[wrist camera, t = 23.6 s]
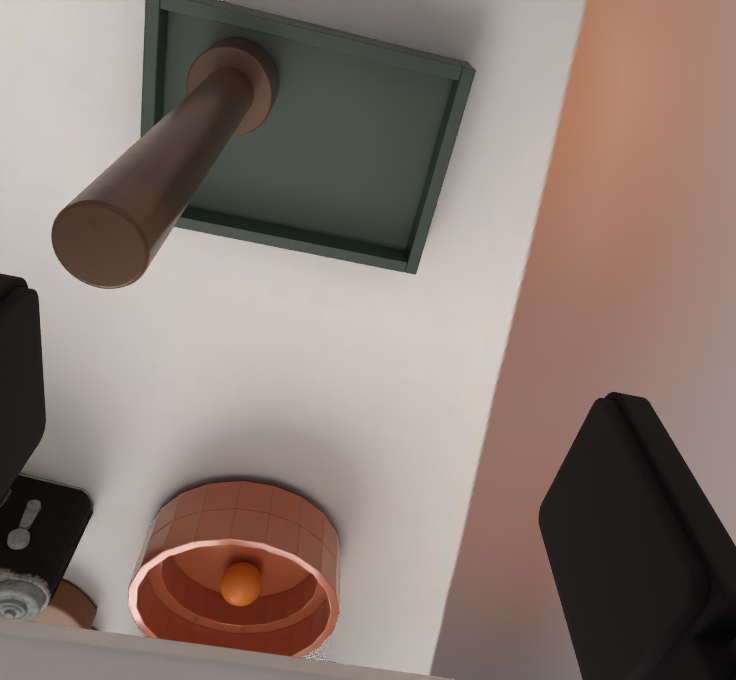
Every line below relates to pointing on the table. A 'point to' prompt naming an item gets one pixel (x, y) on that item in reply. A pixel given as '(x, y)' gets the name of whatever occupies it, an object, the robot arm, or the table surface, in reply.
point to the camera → (37, 542)
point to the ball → (241, 584)
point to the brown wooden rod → (165, 167)
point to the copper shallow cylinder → (233, 545)
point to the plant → (67, 609)
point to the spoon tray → (316, 134)
